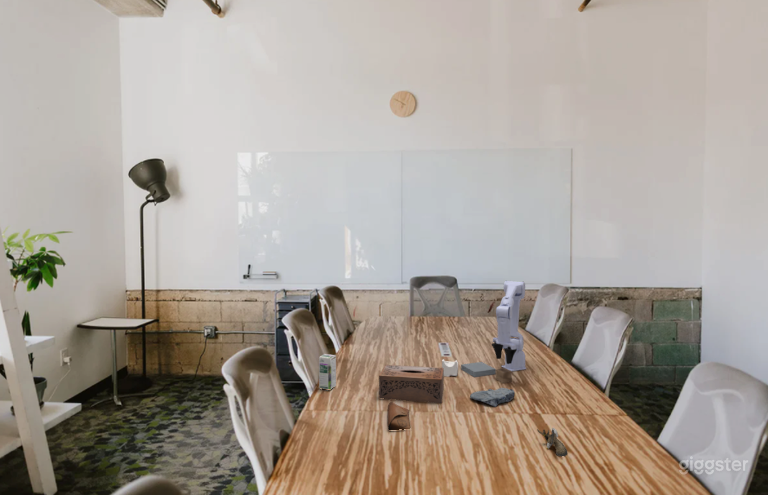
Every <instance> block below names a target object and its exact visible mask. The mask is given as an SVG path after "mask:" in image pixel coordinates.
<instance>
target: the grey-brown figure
mask: <svg viewBox="0 0 768 495" xmlns="http://www.w3.org/2000/svg"><path fill="white" fill-rule="evenodd" d="M536 431H537V432H538V434H541V435H542V437H544V439H545V441H546V443H547V444H546V448H545V449H546V450H548V449H550V448H551V446H553V445H554V448H555V454H556V456H558V457H560V456H561V457H560V458H563V457H562V456H564V457H566V456H567V455H568V450H567V448H566V446H565V444H564V443H563V442H562V441H561V440H560V439H558V438H559V434H558V431H557V429H556V428H555V427H552V428H551V433H550V430H549V429H548V430H547V432H546V430H545V429H542V431H540V430H539V429H538V428H537V429H536Z"/></svg>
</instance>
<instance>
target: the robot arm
mask: <svg viewBox="0 0 768 495" xmlns="http://www.w3.org/2000/svg"><path fill="white" fill-rule="evenodd" d="M503 292H504V294H505V295H504V296H503V297H502V298H501V301H500V304H499V305H498V306H496V309H495V315H496V322H497V337H492V343H491V346H492V348H493V350H494V353H495V354H494V355H495V358H496V359H497V360H500V359H502V353H503V351H504V353H505V354H504V365H501V367H502V368H506V369H508V370H510V371H512V372H516V371H522V370H526V369H527V367H526V353H525V351H524V343H525V342H524V336H523V334H522V333H520V332H519V323H520V322H519V319H520V304H521V300H522V299H524V298H525V296H526V283H525V281H515V280H505V281H504V282H503Z"/></svg>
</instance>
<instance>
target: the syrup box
mask: <svg viewBox="0 0 768 495" xmlns="http://www.w3.org/2000/svg"><path fill="white" fill-rule="evenodd" d="M318 374H319V376H318V378H319V381H318V383H319V384H318V386H319V387H318V388H323V389H332V388H333V387H335V386H336V387H337V356H336V354H327V353H323V354H322V355H320V356H319V357H318ZM336 387H335V388H336ZM333 389H334V388H333ZM333 389H332V390H333Z"/></svg>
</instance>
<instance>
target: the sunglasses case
mask: <svg viewBox="0 0 768 495" xmlns="http://www.w3.org/2000/svg"><path fill="white" fill-rule="evenodd" d="M410 422H411V421H410V409H409V408H406V407H403V406H401V405H397V404H396V403H394V402H392V401H391V402H389V403H388V405H387V429H388V431H389V430H399V429H402V430H404V429H410V428H411V423H410ZM411 429H412V428H411Z"/></svg>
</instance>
